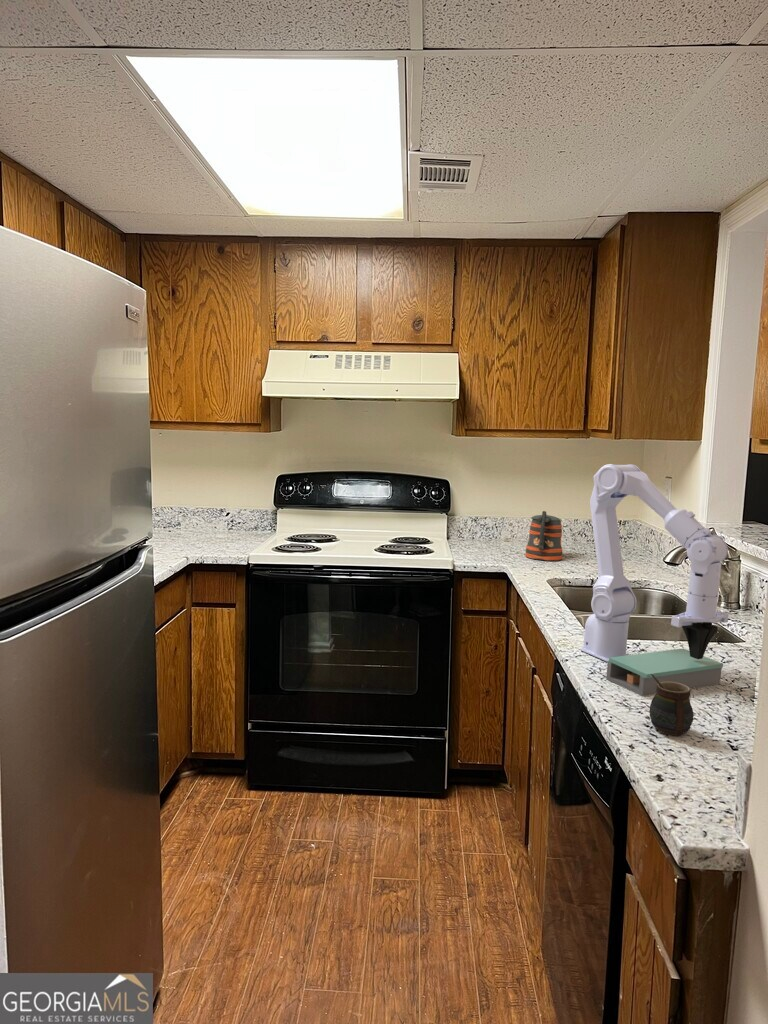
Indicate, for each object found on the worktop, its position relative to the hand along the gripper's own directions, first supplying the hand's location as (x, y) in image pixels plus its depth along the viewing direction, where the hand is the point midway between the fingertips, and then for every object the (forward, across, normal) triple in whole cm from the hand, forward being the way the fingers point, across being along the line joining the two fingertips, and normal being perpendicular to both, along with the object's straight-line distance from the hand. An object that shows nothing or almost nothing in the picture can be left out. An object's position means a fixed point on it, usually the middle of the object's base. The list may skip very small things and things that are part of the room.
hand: (696, 657), depth 153 cm
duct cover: (+2, -6, +2) cm, 7 cm away
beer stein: (+5, +60, +126) cm, 139 cm away
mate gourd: (+6, -25, -16) cm, 30 cm away
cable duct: (+5, -6, +2) cm, 8 cm away
